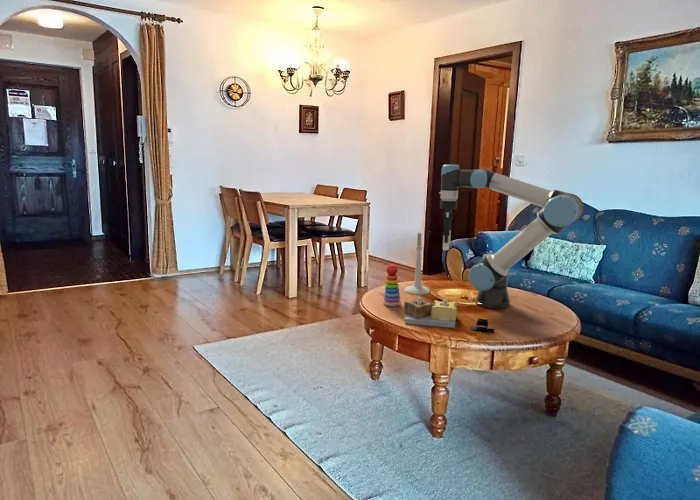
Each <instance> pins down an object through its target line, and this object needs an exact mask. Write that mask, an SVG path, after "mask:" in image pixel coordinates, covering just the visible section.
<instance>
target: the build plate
mask: <svg viewBox="0 0 700 500" xmlns="http://www.w3.org/2000/svg"><path fill="white" fill-rule="evenodd" d="M488 321H489V319H486V318H478V319H477V322H476V326H474V325H473V326H472V325H470V327H469V330H468V331H470V332H478V333H486V334H495V328H490V327H489V322H488Z"/></svg>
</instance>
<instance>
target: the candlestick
mask: <svg viewBox="0 0 700 500" xmlns="http://www.w3.org/2000/svg"><path fill="white" fill-rule="evenodd" d="M416 235H417V236H416V237H417V241H416V246H414V247H415V248H416V257H415V258H416V260H415V269H414V270H415V271H414V282H413V285H409V286H406V287H405V288H404V292H405V293H406V294H410V295H416V296H417V295H419V296H422V295H423V296H424V295H428V294H430V293H431V289H430V288H428V287H427V286H424V285H422V255H421V254H422V253H421V251H422V248H423V245H422V232H417V234H416Z"/></svg>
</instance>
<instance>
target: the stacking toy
mask: <svg viewBox="0 0 700 500" xmlns="http://www.w3.org/2000/svg"><path fill="white" fill-rule="evenodd" d="M397 273H398V266H397V265H395V264H393V263H392V264H391V263H390V264H389V265H388V266H387V267H386V274H387V275H386V280H385V288H384V295H383V296H384V297H383V304H384V305H385V306H387V307H398V306H400V305H401V304H402V303H401V297H400V296H401V295H400V288H399V280H398V277H399V276H398V275H397Z"/></svg>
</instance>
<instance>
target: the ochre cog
mask: <svg viewBox="0 0 700 500" xmlns="http://www.w3.org/2000/svg"><path fill="white" fill-rule="evenodd" d="M432 303H433V304H435V306H432V313H431V318H432V319H449V320H452V321H454V320H455V321H456V319H457V310H458V302H456V301H451V302H450V301H447V306H443V301H439V300H433V301H432Z"/></svg>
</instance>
